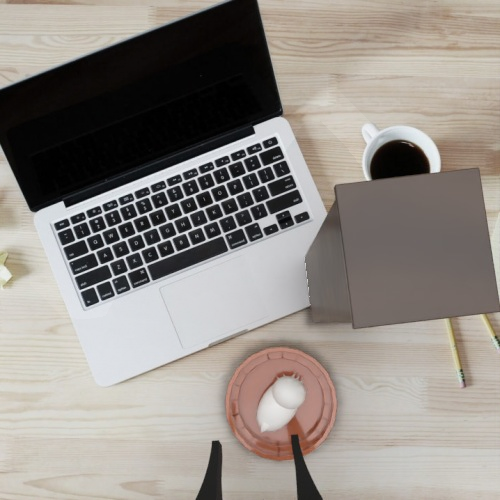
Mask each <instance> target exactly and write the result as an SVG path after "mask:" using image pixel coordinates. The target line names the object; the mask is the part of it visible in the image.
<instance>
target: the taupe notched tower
mask: <svg viewBox="0 0 500 500" xmlns="http://www.w3.org/2000/svg"><path fill="white" fill-rule="evenodd" d="M481 177H482V176H481V171H480V167H478V166H477V167H470V168H461V169H453V170H444V171H437V172H436V171H435V172H428V173H427V172H426V173H420V174H412V175H403V176H394V177H386V178H378V179H371V180H362V181H353V182H346V183H345V182H344V183H337V184H335V185H334V186H333V192H334V201H333V203H332V205H331V207H330V208H329V210H328V212H327V214H326V216H325V218H324V220H323V222H322V224H321V225H320V227H319V230H317V233H316V235H315V237H314V238H313V240H312V242H311V244H310V246H309V248H308V250H307V252H306V254H305V256H304V257H305V261H304V264H305V263H306V269H305V272H306V271H307V277H306V280H307V279H308V285H307V288H308V287H309V293H308V300H309V308H310V315H311V322H313V323H333V324H335V323H337V324H351V328H352V330H360V329H367V328H369V329H370V328H376V327H387V326H392V325H402V324H412V323H420V322H428V321H436V320H437V321H438V320H446V319H452V318H460V317H461V318H463V317H471V316H479V315H487V314H496V313H500V296H499V289H498V281H497V276H496V269H495V264H494V263H495V262H494V255H493V250H492V242H491V236H490V230H489V225H488V224H489V223H488V216H487V210H486V209H487V208H486V203H485V197H484V190H483V184H482V178H481ZM309 296H310V297H309ZM310 304H311V305H310Z"/></svg>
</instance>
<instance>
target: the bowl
mask: <svg viewBox="0 0 500 500" xmlns="http://www.w3.org/2000/svg"><path fill="white" fill-rule="evenodd" d="M294 373H296V374H295V377H294V378H297V377H298V376H299V375H300V377H299V379H298V380H299V381H301V380H302V379H304V380H303V383H302V385H303V386H304V388H305V389H308V390H306V391H305V392H306V394H305V401H304V402H303V403H302V404H301V405H300V406H299V408H298V410H297V411H296V413H295V415H294V417H293V418H292V419H291V420H290V421H289V423H287V424H286V425H285V426H284V427H282V428H281V429H278V430H276V431H270V432H267V431H264V432H262V433H261V428H260V426H259V425H258V422H257V419H256V416H257V408H258V405H259V402H260V400H261V398H262V397H263V395H264V393H265V392H266V391H267V390H268V389H269V387H271V386H272V385H273V384H274V383H275V382H276V381H277V377H279V378H281V377H284V376H283V374H284V375H285V376H292V375H293V374H294ZM276 376H277V377H276ZM224 404H225V414H226V420H227V422H228V425H229V427H230V429H231V431H232V433H233V436H234V437H235V438H236V439H237V440H238V441H239V442H240V444H242V446H243V447H244V448H245V449H246V450H247V451H249V452H252V454H255V455H256V456H258V457H260V458H263V459H268V460H272V461H276V462H285V461H294V457H293V450H292V444H291V435H294V434H298V436H299V443H300V447H301V451H302V454H303V457H304V456H307V455H309V454H311V453H313V452H314V451H315V450H316V449H317V448H318V447H320V446H321V445H322V444H323V443H324V442H325V441H326V440H327V438H328V436H329V435H330V432H331V430H332V429H333V427H334V425H335V421H336V417H337V411H338V400H337V392H336V386H335V385H334V383H333V380H332V378H331V376H330V373H329V372H328V371H327V370H326V369H325V368H324V366H322V364H321V363H320V362H319V361H318V360H317V359H316V358H315V357H314V356H312V355H310V354H308V353H306V352H305V351H303V350H301V349H299V348H295V347H291V346H286V345H285V346H284V345H280V346H272V347H265V348H263V349H261V350H258V351H256V352H254V353H252V354H250V355H249V356H248V357H247V358H245V359H244V361H243V362H241V364H239V365H238V366H237V368H236V369H235V371H234V373H233V375H232V376H231V378H230V380H229V382H228V384H227V388H226V394H225V398H224Z"/></svg>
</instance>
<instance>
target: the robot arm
mask: <svg viewBox="0 0 500 500" xmlns="http://www.w3.org/2000/svg"><path fill="white" fill-rule="evenodd" d="M291 444H292V450H293V457H294V460H293V462H294V463H293V464H294V470H295V482H296V483H295V485H296V500H324V499H323V496H322V495H321V493H320V491H319V489H318V487H317V485H316V484H315V482H314V480H313V477H312V476H311V472H310V471H309V468H308V466H307V463H306V461H305V457H304V456H303V454H302V451H301V447H300V443H299V436H298V434H294V435H291ZM222 475H223V445H222V442H221V441H220V440H219V439H216V440H211V448H210V454H209V459H208V464H207V467H206V471H205V474H204V477H203V479H202V482H201V486H200V488H199V491H198V492H197V495H196V498H195V500H223V482H222V479H223V478H222Z"/></svg>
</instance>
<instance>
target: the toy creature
mask: <svg viewBox="0 0 500 500" xmlns="http://www.w3.org/2000/svg"><path fill="white" fill-rule="evenodd" d="M295 374H296V373H294V374H293V375H292V376H285V375H284V374H283V376H284V377H281V378H279V377H277V376H276V377H277V381H276V382H275V383H274V384H273V385H272V386H271V387H269V389H268V390H267V391H266V392H265V393H264V395H263V397H262V398H261V400H260V402H259V405H258V408H257V416H256V419H257V422H258V425H259V426H260V428H261V433H262V432H264V431H267V432H270V431H276V430H278V429H281V428H282V427H284V426H285V425H286V424H287V423H289V421H290V420H291V419H292V418H293V417H294V415H295V413H296V411H297V410H298V408H299V406H300V405H301V404H302V403H303V402H304V401H305V394H306V392H305V391H306V390H308V389H305V388H304V386H303V385H302V383H303V380H304V379H302V380H301V381H299V380H298V379H299V377H300V375H299V376H298V377H297V378H294V377H295Z"/></svg>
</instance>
